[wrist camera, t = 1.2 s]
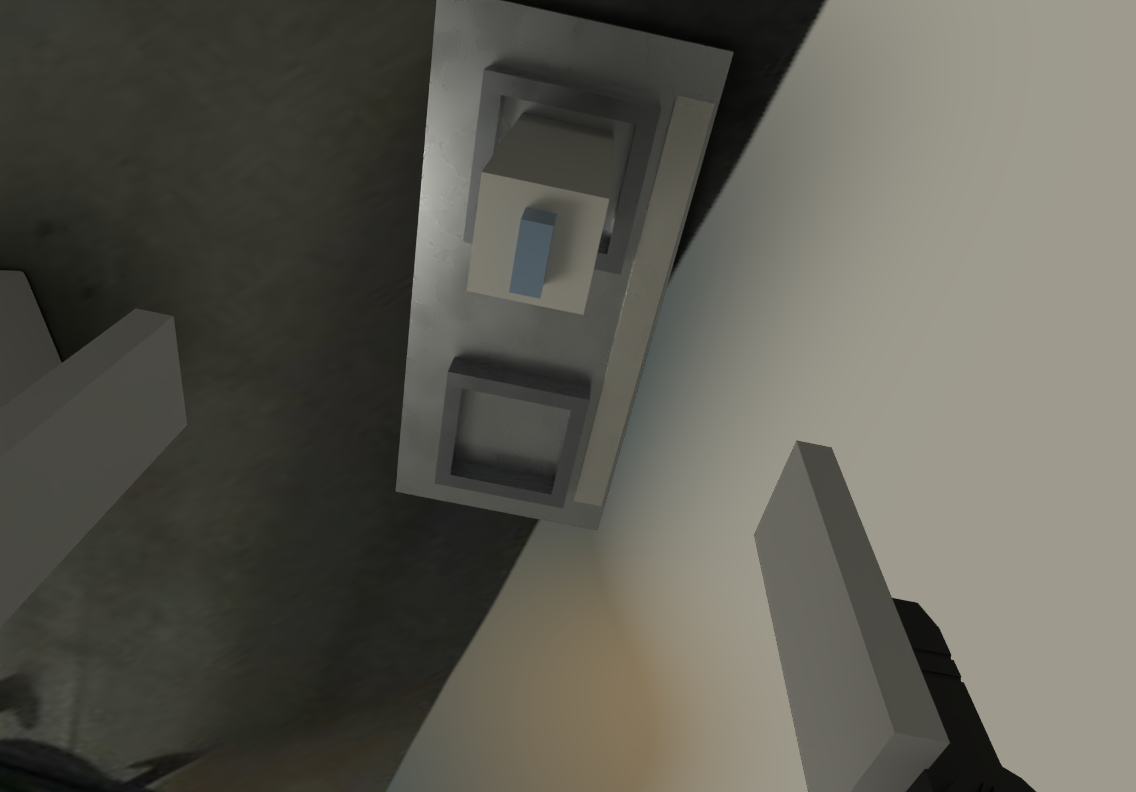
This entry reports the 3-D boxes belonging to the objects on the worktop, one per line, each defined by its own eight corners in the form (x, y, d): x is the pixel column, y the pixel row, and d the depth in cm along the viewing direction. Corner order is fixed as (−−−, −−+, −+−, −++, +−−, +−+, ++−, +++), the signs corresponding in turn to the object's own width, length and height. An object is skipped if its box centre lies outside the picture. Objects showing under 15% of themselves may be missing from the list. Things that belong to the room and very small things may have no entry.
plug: (521, 113, 30) (474, 182, 21) (613, 133, 31) (608, 210, 21) (508, 204, 33) (459, 305, 23) (594, 223, 33) (581, 330, 23)
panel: (443, -15, 29) (428, -13, 27) (730, 49, 30) (738, 56, 27) (400, 480, 43) (388, 508, 40) (597, 519, 43) (596, 548, 41)
